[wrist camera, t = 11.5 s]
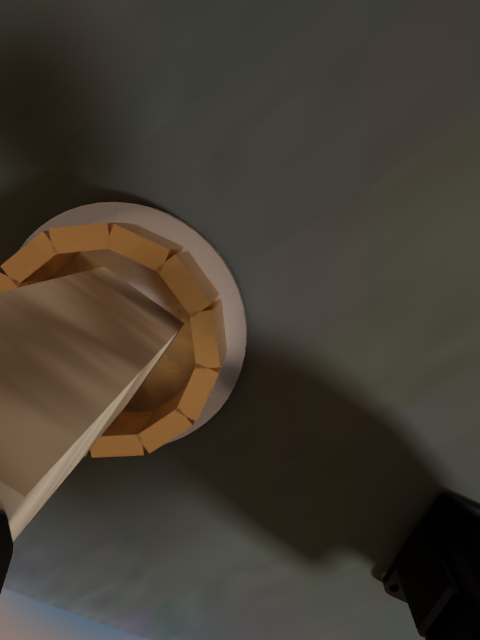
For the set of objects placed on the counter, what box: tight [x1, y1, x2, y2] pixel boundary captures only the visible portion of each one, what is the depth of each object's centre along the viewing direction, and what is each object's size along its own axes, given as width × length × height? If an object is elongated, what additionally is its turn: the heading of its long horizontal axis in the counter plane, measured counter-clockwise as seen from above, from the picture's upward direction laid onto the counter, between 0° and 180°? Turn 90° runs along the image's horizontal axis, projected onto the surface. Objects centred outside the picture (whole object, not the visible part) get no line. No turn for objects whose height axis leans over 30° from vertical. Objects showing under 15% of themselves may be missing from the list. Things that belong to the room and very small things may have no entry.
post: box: [0, 267, 185, 541], centre depth 14 cm, size 4×4×13 cm
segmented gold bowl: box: [0, 202, 248, 458], centre depth 19 cm, size 12×12×4 cm
